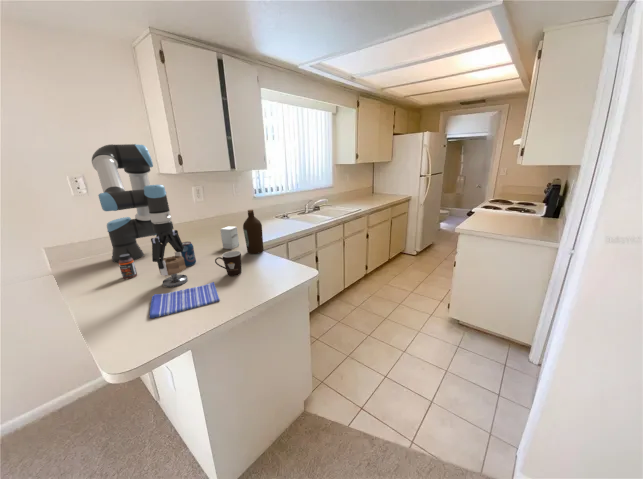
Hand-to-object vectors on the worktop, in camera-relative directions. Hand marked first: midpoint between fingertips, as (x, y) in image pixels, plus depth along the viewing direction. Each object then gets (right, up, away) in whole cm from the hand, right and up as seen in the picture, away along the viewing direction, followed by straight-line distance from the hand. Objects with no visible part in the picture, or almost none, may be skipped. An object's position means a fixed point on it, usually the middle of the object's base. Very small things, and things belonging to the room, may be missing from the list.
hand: (172, 269), depth 119 cm
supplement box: (+10, +9, +49) cm, 50 cm away
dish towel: (+13, -11, -14) cm, 22 cm away
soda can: (-4, 0, +23) cm, 23 cm away
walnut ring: (0, 0, 0) cm, 0 cm away
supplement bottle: (-27, -5, +10) cm, 29 cm away
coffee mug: (+24, -3, +9) cm, 25 cm away
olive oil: (+28, +6, +38) cm, 48 cm away
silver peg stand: (0, -6, +2) cm, 6 cm away
